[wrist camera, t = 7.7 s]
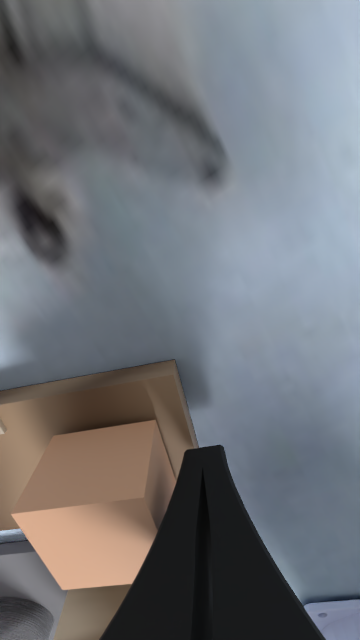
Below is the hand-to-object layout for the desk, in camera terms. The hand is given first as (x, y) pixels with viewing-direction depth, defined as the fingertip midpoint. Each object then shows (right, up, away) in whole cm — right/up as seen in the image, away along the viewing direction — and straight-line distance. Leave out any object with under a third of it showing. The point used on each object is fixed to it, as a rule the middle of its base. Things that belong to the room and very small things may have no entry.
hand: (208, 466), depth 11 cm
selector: (-3, 0, +1) cm, 4 cm away
